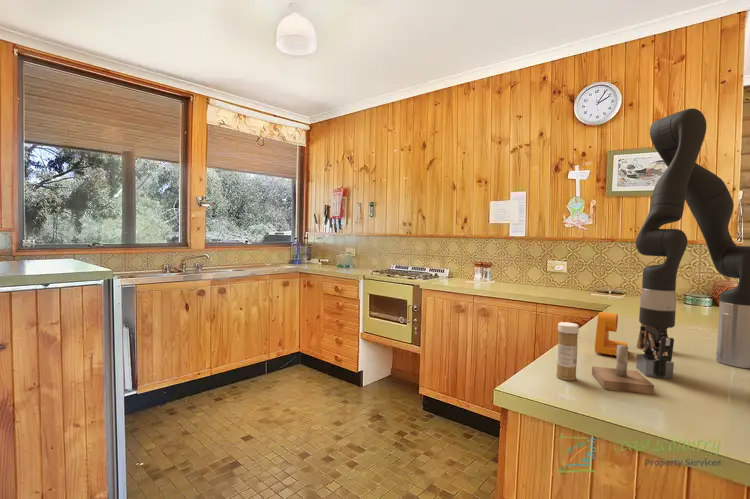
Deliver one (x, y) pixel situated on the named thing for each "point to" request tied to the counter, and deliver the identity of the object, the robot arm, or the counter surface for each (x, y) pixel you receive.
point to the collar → (652, 366)
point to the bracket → (606, 334)
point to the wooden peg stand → (622, 376)
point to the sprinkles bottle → (567, 351)
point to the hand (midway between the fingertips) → (653, 371)
